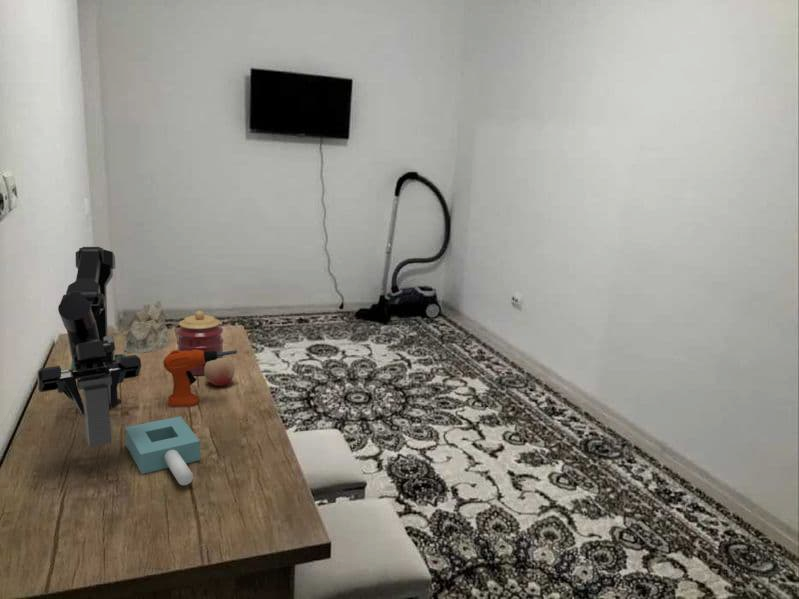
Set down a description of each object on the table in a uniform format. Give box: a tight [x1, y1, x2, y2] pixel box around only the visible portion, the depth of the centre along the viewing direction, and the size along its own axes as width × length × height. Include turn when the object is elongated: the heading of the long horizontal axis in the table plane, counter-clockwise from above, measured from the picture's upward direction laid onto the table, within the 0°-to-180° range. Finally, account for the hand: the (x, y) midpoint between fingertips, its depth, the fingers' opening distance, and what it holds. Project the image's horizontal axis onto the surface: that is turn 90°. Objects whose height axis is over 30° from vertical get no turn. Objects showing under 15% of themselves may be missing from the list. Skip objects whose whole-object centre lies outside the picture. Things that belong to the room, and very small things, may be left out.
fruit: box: [203, 357, 235, 387], centre depth 175 cm, size 8×8×8 cm
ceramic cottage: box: [122, 299, 170, 355], centre depth 203 cm, size 16×16×15 cm
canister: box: [176, 310, 224, 376], centre depth 185 cm, size 13×13×18 cm
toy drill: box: [162, 349, 238, 408], centre depth 162 cm, size 5×19×15 cm, turn 105°
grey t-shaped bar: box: [76, 375, 113, 448], centre depth 126 cm, size 4×6×14 cm, turn 124°
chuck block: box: [124, 415, 201, 486], centre depth 133 cm, size 24×12×4 cm, turn 35°
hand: (98, 411), depth 125 cm, fingers closed on grey t-shaped bar, 5 cm apart
